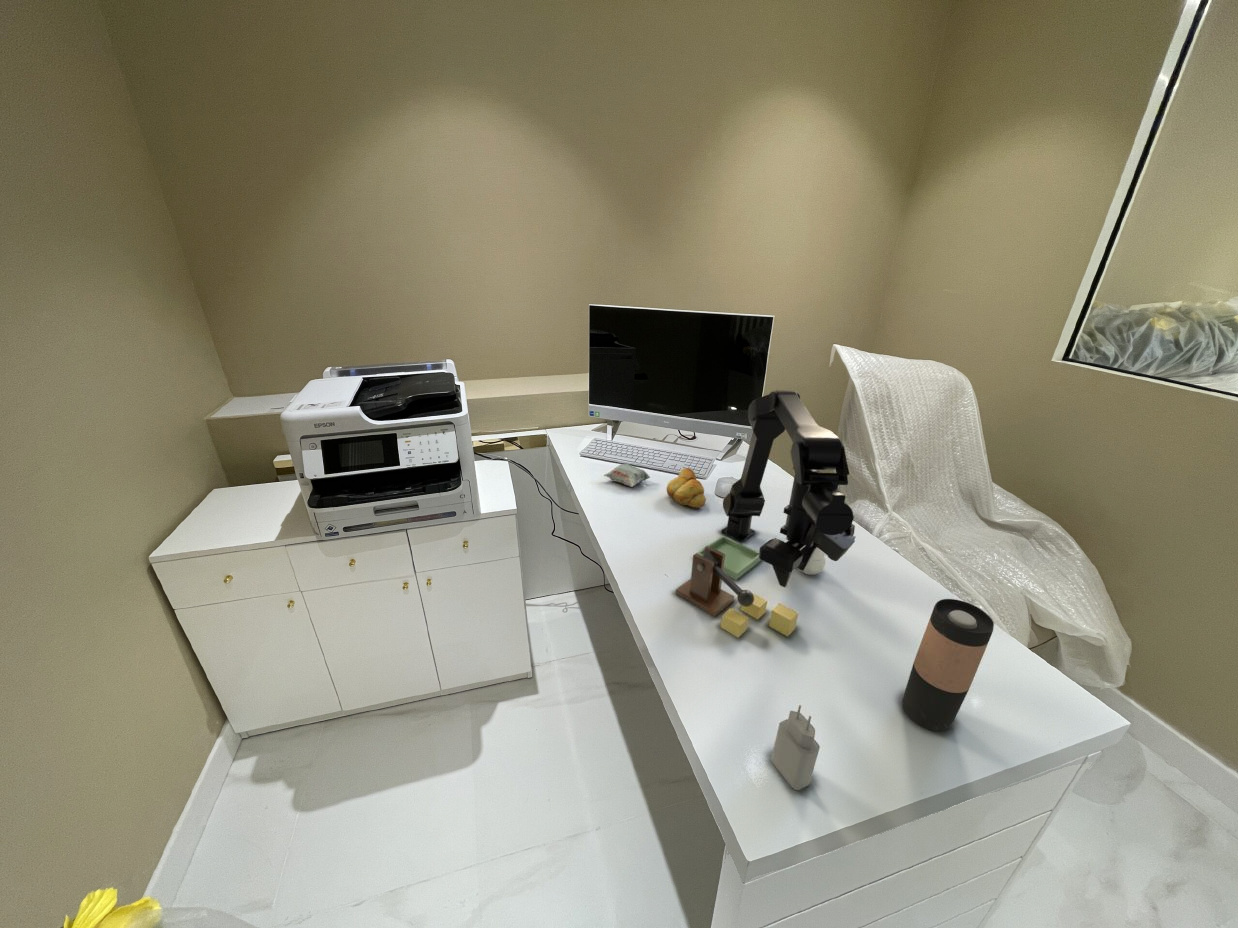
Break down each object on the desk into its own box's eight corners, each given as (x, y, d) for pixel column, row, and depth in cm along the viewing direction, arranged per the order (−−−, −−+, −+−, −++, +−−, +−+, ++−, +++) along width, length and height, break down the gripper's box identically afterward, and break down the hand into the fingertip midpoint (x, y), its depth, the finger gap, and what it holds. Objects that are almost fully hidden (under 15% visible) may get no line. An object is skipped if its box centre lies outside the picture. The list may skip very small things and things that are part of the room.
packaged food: (632, 492, 149) (633, 477, 147) (603, 480, 156) (603, 466, 154) (650, 483, 155) (651, 469, 153) (621, 472, 162) (621, 458, 160)
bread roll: (712, 508, 142) (715, 482, 138) (682, 514, 138) (685, 488, 135) (688, 488, 152) (690, 464, 149) (660, 494, 149) (662, 469, 145)
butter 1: (729, 619, 100) (730, 607, 99) (746, 629, 98) (748, 617, 96) (720, 627, 98) (722, 615, 97) (738, 637, 96) (740, 625, 94)
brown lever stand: (733, 600, 105) (740, 558, 101) (714, 616, 101) (720, 572, 96) (695, 579, 112) (699, 538, 107) (675, 593, 107) (679, 551, 103)
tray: (722, 541, 126) (723, 535, 125) (761, 560, 119) (762, 553, 118) (696, 559, 119) (696, 552, 118) (736, 580, 112) (737, 573, 111)
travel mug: (890, 693, 84) (922, 598, 76) (933, 691, 85) (969, 596, 77) (918, 734, 78) (957, 635, 69) (965, 731, 78) (1009, 632, 70)
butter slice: (776, 618, 101) (779, 602, 99) (794, 628, 98) (798, 612, 96) (768, 626, 99) (771, 610, 97) (787, 636, 96) (791, 620, 94)
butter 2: (748, 603, 105) (750, 591, 104) (765, 612, 102) (767, 600, 101) (740, 609, 103) (742, 598, 102) (757, 619, 100) (759, 607, 99)
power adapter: (785, 749, 75) (799, 691, 70) (812, 782, 70) (829, 722, 65) (768, 757, 73) (782, 699, 68) (795, 792, 69) (811, 731, 64)
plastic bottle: (824, 565, 118) (841, 489, 109) (821, 581, 112) (839, 503, 104) (795, 558, 120) (810, 483, 112) (791, 573, 114) (807, 496, 106)
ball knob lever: (752, 604, 100) (760, 595, 98) (743, 612, 97) (751, 603, 95) (705, 558, 105) (711, 549, 103) (695, 564, 103) (702, 555, 101)
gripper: (829, 543, 76) (811, 623, 82) (874, 502, 88) (855, 575, 94) (763, 515, 83) (751, 592, 89) (813, 482, 95) (799, 551, 102)
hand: (792, 577), depth 93 cm, fingers open, 7 cm apart
